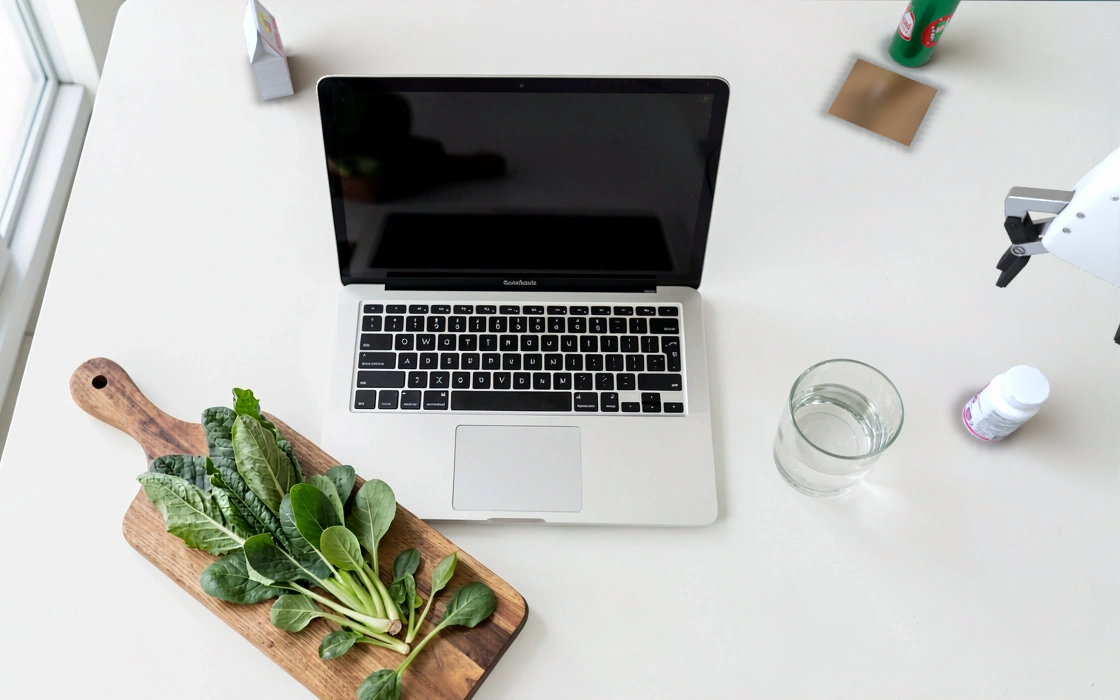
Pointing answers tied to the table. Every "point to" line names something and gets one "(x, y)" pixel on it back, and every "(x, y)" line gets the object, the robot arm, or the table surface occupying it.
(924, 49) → the soda can
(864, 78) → the coaster
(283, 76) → the milk carton
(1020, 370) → the pill bottle
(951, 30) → the table surface
